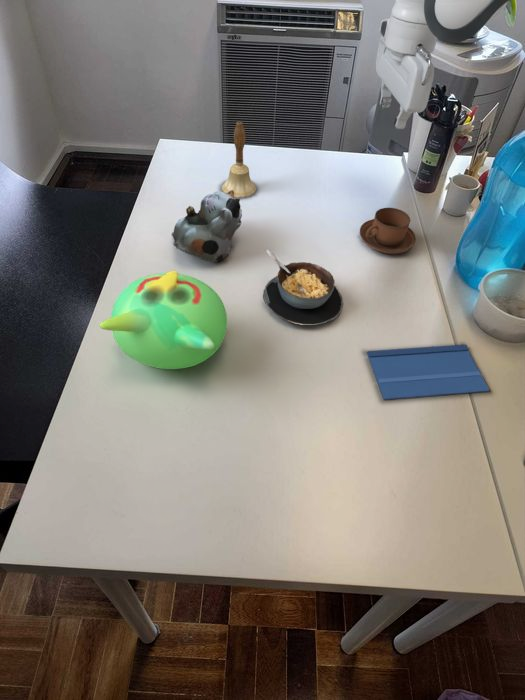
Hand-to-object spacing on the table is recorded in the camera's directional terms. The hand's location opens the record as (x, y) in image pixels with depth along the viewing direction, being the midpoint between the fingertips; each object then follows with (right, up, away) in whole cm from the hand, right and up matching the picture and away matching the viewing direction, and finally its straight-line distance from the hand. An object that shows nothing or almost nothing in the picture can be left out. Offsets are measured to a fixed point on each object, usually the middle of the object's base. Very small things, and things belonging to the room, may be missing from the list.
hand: (391, 116), depth 93 cm
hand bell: (-31, -7, +21) cm, 38 cm away
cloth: (+2, -50, -14) cm, 52 cm away
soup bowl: (-18, -37, -4) cm, 41 cm away
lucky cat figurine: (-37, -25, +6) cm, 45 cm away
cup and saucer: (+1, -23, +10) cm, 25 cm away
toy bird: (-41, -47, -14) cm, 64 cm away
